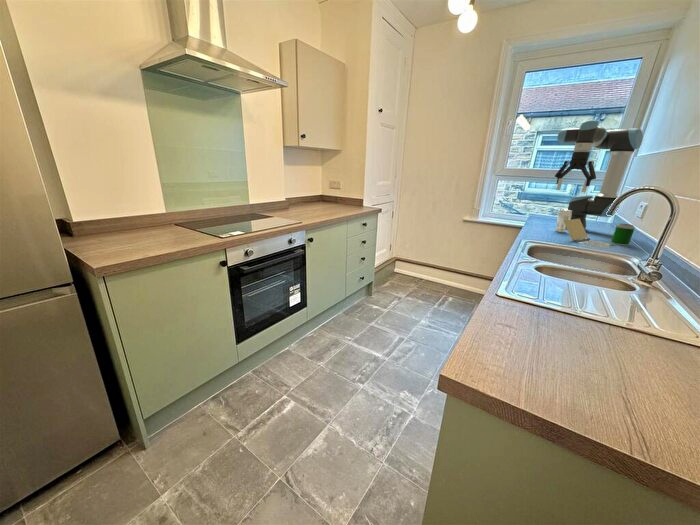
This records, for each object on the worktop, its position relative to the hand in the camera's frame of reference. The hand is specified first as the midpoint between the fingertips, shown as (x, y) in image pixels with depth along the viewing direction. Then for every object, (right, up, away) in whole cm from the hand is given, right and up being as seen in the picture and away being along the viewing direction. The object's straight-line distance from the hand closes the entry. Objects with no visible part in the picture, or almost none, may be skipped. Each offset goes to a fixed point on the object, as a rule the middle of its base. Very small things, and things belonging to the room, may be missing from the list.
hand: (570, 191), depth 163 cm
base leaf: (+9, -32, -6) cm, 33 cm away
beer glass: (+12, -22, +24) cm, 35 cm away
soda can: (+25, -32, -3) cm, 41 cm away
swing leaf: (+4, -23, +1) cm, 24 cm away
